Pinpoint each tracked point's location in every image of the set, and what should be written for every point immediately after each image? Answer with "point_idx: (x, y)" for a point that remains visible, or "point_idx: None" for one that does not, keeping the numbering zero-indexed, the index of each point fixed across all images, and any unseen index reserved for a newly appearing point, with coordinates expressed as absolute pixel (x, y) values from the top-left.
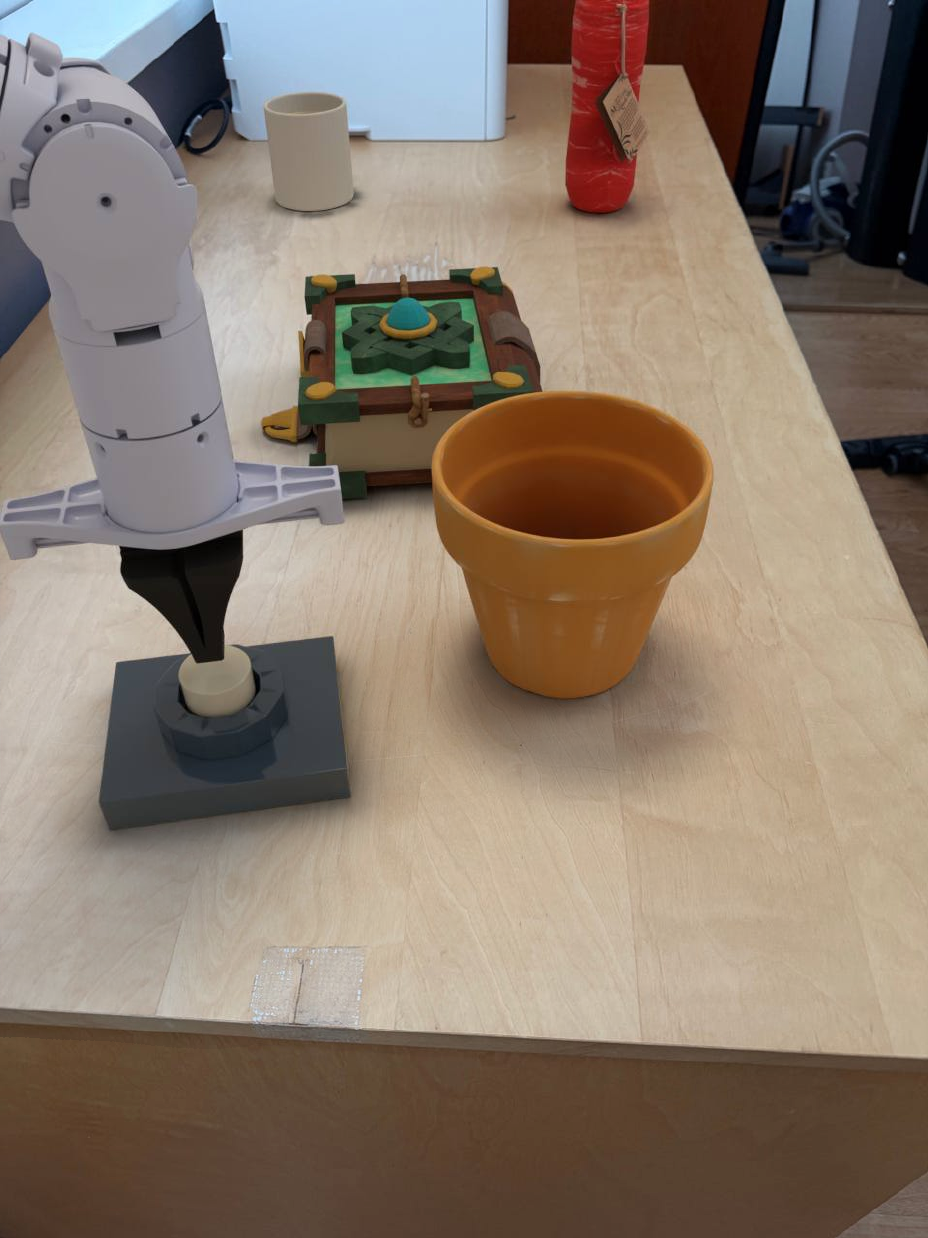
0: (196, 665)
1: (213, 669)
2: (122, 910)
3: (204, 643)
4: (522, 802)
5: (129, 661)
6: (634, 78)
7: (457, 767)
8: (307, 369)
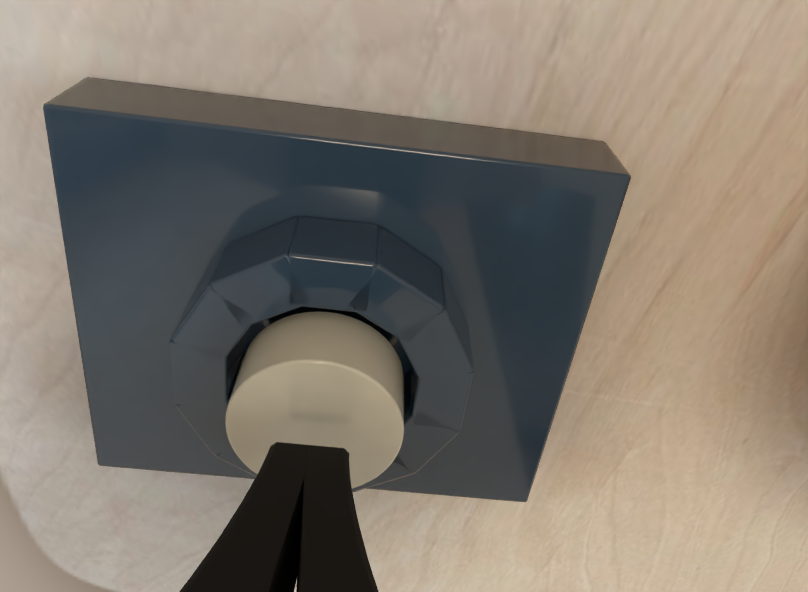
0: (269, 413)
1: (311, 432)
2: (168, 519)
3: (294, 580)
4: (751, 509)
5: (81, 116)
6: None
7: (700, 439)
8: None
